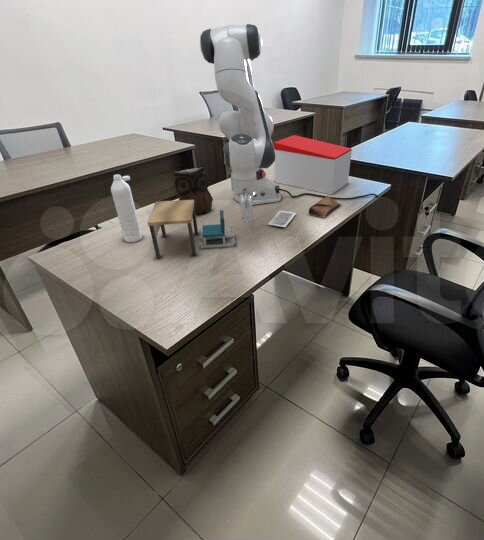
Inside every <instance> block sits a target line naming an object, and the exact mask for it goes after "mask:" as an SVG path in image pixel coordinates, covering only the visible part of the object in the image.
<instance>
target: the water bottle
mask: <svg viewBox="0 0 484 540" xmlns="http://www.w3.org/2000/svg"><path fill="white" fill-rule="evenodd" d="M130 180H131V176H130V175H124V176H122V175H121V174H118V173H117V174H114V175H113V181H112V184H111V186H110V193H111V196H112V200H113V203H114V207H115V210H116V214H117V219H118V221H119V224H120V228H121V233H122V236H123V239H124V241H125V242H127V243H135V242H138V241H140V240H141V239H142V238H143V234H142V231H141V226H140V222H139V218H138V214H137V210H136V206H135V202H134V198H133V194H132V190H131V186H130V185H129V183H127V182H128V181H130ZM126 181H127V182H126Z"/></svg>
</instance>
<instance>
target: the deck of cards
mask: <svg viewBox="0 0 484 540" xmlns="http://www.w3.org/2000/svg"><path fill="white" fill-rule="evenodd" d="M296 215H297V212H293V211H286V210H278V212H277V213H276V214H275V215H274V216H273V218H271V220H270V221H268V223H267V225H268V226H269V225H270V226H274V227H275V226H276V227H280V228H281V227H282V228H286V227H287V226H288V225H289V224H290V222H291V221H292V220H293V219H294V217H295V216H296Z"/></svg>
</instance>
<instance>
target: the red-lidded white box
mask: <svg viewBox="0 0 484 540" xmlns="http://www.w3.org/2000/svg"><path fill="white" fill-rule="evenodd" d="M273 146H274V149H275V161H274V162H273V164H274V167H273V169H274V170H273V171H274V174H273V175H274V179H273V180H274V182H273V183H277V184H282V185H287V186H291V187H296V188H300V189H304V190H310V191H313V192H318V193H323V194H327V195H333V194H334V193H336V192H338V191H339V190H341V189H342V188H343V187H345V186H346V185H347V184H348V183H349V175H350V168H351V161H352V160H351V158H352V151H353V149H352V148H350V147H346V146H342V145H338V144H334V143H329V142H326V141H321V140H317V139H314V138H309V137H304V136H300V135H296V134H292V135H290V136H288V137H285V138H282V139H280V140H277V141H274V142H273ZM347 181H348V182H347Z"/></svg>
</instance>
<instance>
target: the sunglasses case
mask: <svg viewBox="0 0 484 540" xmlns="http://www.w3.org/2000/svg"><path fill="white" fill-rule="evenodd" d="M325 196H326V197H322V199H320V200H319V201H317V202H316V203H314V204H313V205H312V206H310V207H309V209H308V214H309V215H310V216H313V217H317V218H325V219H326V218H327V216H328V215H329V214H331V213H332V212H333V211H335V210H336V209H338V208H339V207H340V206H341V205H342V203H339V202H338V201H337V200H336V199H332V198H331V197H332V196H329V194H327V195H325Z"/></svg>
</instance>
